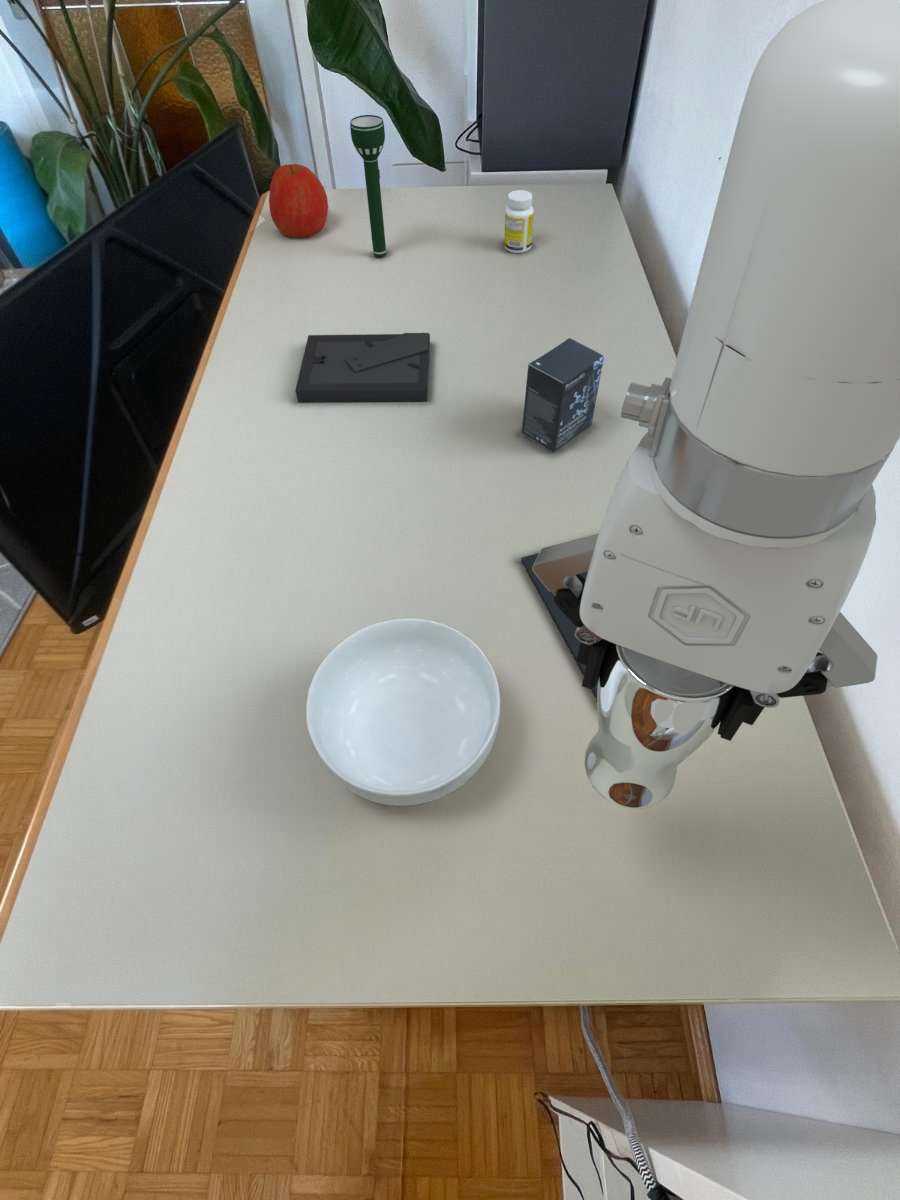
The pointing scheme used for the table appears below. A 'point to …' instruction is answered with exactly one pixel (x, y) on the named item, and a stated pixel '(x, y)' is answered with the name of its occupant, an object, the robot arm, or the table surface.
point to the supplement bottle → (518, 222)
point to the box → (561, 394)
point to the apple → (297, 201)
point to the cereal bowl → (403, 711)
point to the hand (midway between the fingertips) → (660, 690)
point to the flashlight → (371, 172)
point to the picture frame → (365, 368)
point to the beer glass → (648, 725)
